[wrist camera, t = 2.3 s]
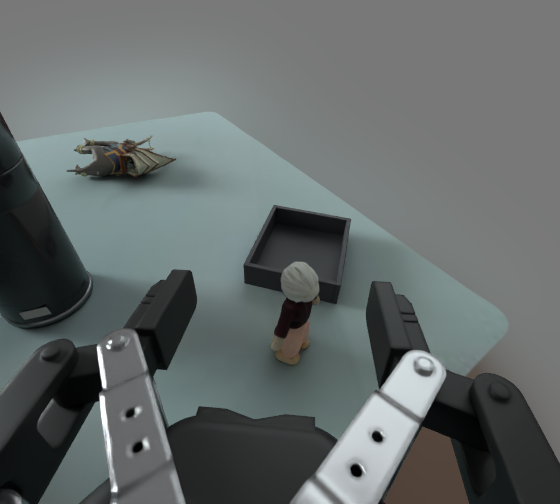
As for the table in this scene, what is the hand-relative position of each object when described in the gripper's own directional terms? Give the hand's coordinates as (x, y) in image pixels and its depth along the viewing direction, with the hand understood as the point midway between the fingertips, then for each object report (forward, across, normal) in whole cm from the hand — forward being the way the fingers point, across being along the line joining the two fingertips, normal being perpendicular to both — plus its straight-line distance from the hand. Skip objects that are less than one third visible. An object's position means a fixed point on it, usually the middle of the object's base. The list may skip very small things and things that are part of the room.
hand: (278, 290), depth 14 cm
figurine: (+47, +35, +11) cm, 59 cm away
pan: (+27, 0, +16) cm, 31 cm away
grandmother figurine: (+12, 0, +19) cm, 22 cm away
